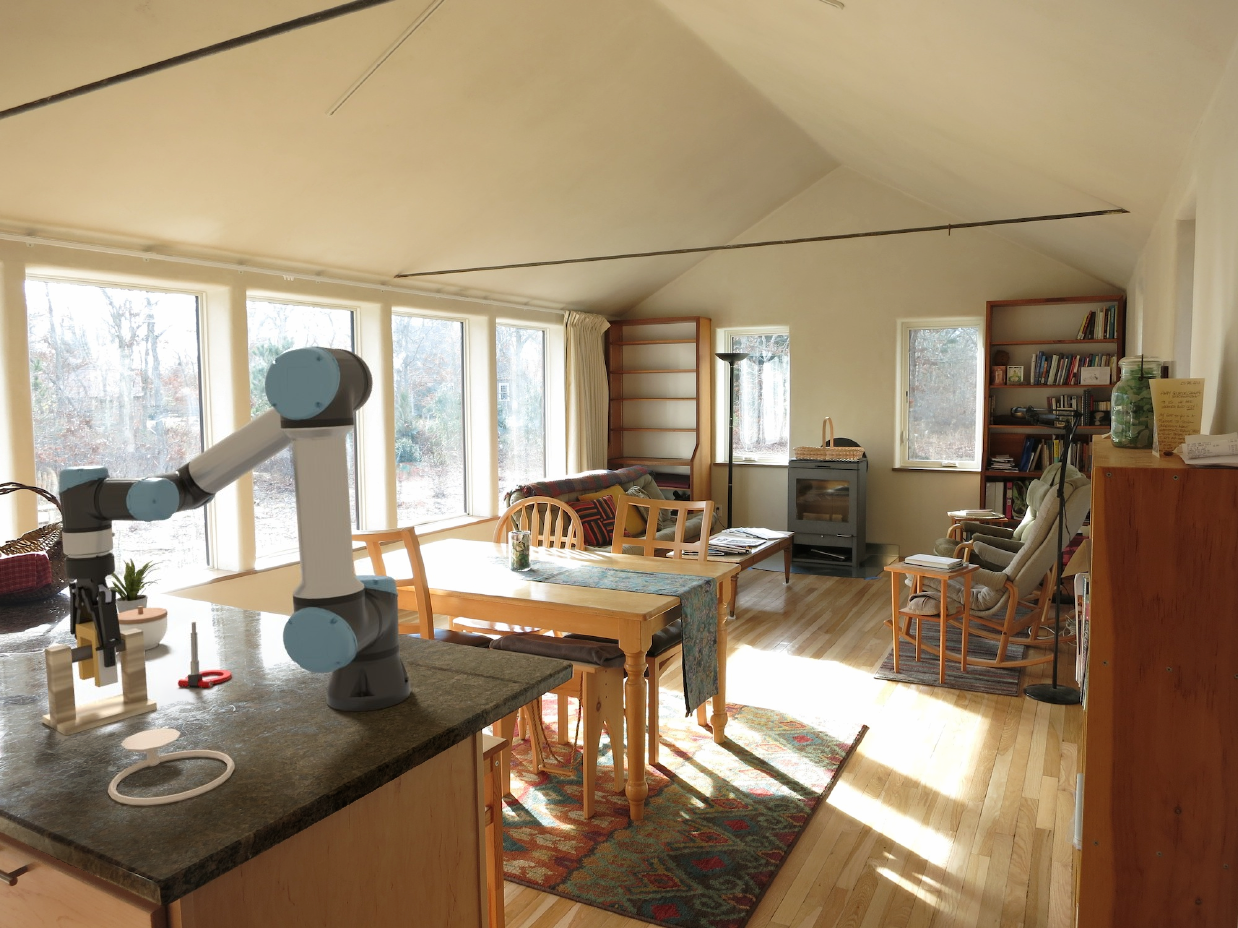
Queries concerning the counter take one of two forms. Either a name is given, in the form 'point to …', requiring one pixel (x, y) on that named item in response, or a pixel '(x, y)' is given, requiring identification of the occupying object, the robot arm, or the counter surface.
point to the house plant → (131, 588)
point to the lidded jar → (145, 624)
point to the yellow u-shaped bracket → (88, 637)
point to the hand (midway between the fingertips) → (98, 678)
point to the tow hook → (196, 676)
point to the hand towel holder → (150, 745)
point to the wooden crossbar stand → (102, 711)
